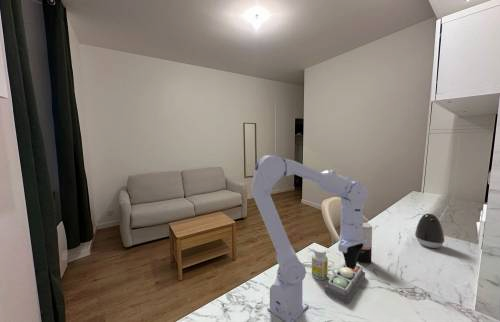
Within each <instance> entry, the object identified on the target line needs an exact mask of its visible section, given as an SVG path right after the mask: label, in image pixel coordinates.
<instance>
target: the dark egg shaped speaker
mask: <svg viewBox="0 0 500 322" xmlns="http://www.w3.org/2000/svg"><path fill="white" fill-rule="evenodd" d="M444 234H445V233H444V229H443V225H442V223H441V222H440V220H439V218H438V217H437V216H436V215H435V214H432V213H424V214H423V215H422V216H421V217H420V218H419V221H418V223H417V226H416V228H415V234H414V235H415V238H416V240H417V242H418V243H419V244H420V245H421V246H423V247H426V248H429V249H437V248H441V247H442V245H444V242H445V235H444Z"/></svg>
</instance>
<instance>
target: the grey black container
mask: <svg viewBox="0 0 500 322" xmlns="http://www.w3.org/2000/svg"><path fill="white" fill-rule="evenodd" d="M362 236H363V238H364V239H366V240H367V243H366V244H363V247H362V249H361V251H360V253H359V256H358V259H357V263H358V262H359V263H358V264H360V263H361V265H370V264H371V263H372V256H373V255H372V251H373V247H372V245H373V226H372V224H370V223H368V222H365V221H363V233H362Z"/></svg>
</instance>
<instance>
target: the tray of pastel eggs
mask: <svg viewBox="0 0 500 322" xmlns="http://www.w3.org/2000/svg"><path fill="white" fill-rule="evenodd" d="M345 265H346V263H345V262H343V264H342V265H341V266H340V267H339V268H338V270H337V271H336V272H335V273H334V274H333V275H332V276H331V278H330V279H328V281H327V284H326V285H324V293H325V294H326V295H327V294H328V295H329V296H331V297H333V298H335V299H338V300H339V301H341V302H343V303H345V304H347V305H349V303H350V302H351V301H352V299H353V297H354V296H355V294H356V293H357V291H358V290H359V288H360V286H361V285H362V283H363V282H364V280H365V278H366V272H365V271H364V270H363V269H364V267H363V266H361V265H358V264H356V266H357V267H358V272H357V273H356V272H353V278H352V279H347V278H344V277H342V276H340V268H341V267H345ZM334 278H342V279H344V280H345V281H346V282H347V287H346V288H345V289H344V288H342V287H340V286H337V285H335V284H333V279H334Z"/></svg>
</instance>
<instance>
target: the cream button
mask: <svg viewBox="0 0 500 322" xmlns="http://www.w3.org/2000/svg"><path fill="white" fill-rule="evenodd" d="M340 267H341V266H340ZM340 267H339V269H340V276H342V277H344V278H347V279H352V278H353V271H352V270H351V269H349V268H346V267H341V268H340Z"/></svg>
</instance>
